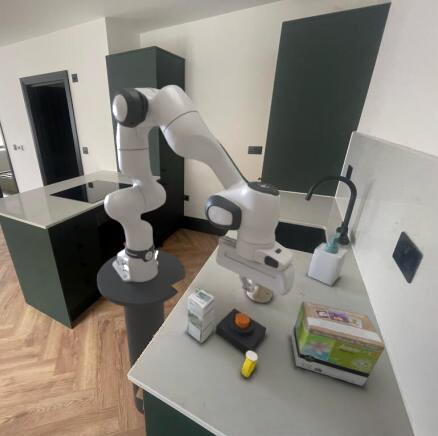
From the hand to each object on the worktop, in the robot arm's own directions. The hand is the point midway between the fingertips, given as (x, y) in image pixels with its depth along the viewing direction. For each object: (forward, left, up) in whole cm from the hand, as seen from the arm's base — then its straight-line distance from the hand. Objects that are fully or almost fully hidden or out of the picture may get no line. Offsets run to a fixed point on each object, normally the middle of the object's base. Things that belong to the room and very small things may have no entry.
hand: (247, 289), depth 64 cm
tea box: (+20, +9, -18) cm, 28 cm away
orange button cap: (0, 0, -13) cm, 13 cm away
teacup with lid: (-4, +19, -18) cm, 26 cm away
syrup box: (-9, -9, -18) cm, 22 cm away
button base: (0, 0, -17) cm, 17 cm away
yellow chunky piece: (+7, -9, -18) cm, 21 cm away
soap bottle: (+9, +50, -18) cm, 54 cm away
